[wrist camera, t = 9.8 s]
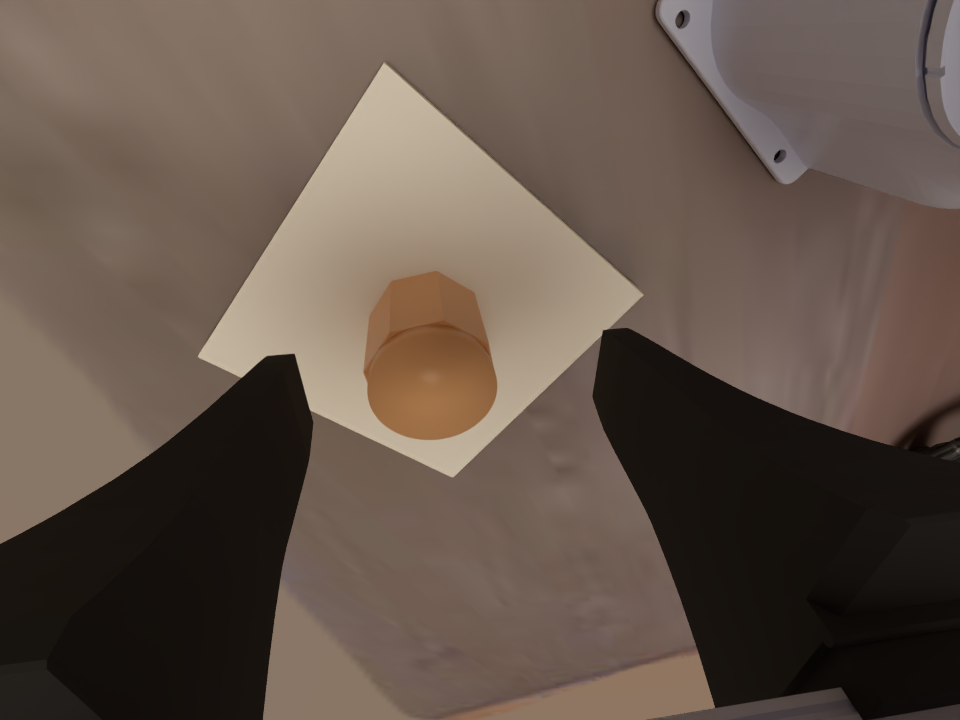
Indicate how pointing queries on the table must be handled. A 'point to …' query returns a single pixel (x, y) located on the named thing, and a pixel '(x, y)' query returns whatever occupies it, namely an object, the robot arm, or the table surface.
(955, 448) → the milk frother
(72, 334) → the table surface
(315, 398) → the post board
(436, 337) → the cap
